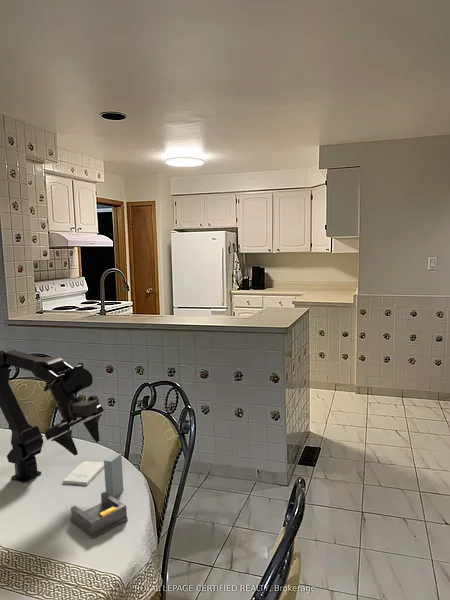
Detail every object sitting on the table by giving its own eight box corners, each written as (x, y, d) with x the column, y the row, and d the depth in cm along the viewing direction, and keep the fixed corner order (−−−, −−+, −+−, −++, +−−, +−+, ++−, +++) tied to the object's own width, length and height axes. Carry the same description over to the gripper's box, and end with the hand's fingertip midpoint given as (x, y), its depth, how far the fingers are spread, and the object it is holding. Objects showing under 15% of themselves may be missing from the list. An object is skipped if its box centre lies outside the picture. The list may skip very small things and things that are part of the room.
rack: (70, 521, 116) (69, 504, 115) (104, 504, 123) (103, 488, 122) (93, 539, 108) (91, 521, 107) (127, 520, 115) (126, 503, 115)
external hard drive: (106, 467, 146) (87, 487, 133) (83, 465, 147) (62, 485, 135) (105, 462, 145) (87, 482, 133) (82, 461, 147) (62, 479, 135)
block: (106, 497, 127) (103, 460, 125) (116, 488, 131) (114, 452, 130) (113, 498, 126) (111, 461, 124) (123, 489, 130) (121, 453, 129)
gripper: (60, 399, 118) (84, 453, 117) (105, 380, 135) (126, 427, 134) (33, 413, 122) (56, 465, 121) (80, 392, 139) (101, 438, 138)
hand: (87, 448), depth 128 cm, fingers open, 9 cm apart
